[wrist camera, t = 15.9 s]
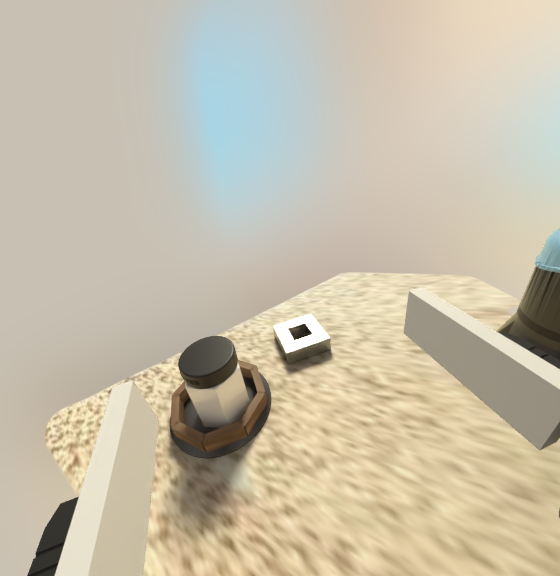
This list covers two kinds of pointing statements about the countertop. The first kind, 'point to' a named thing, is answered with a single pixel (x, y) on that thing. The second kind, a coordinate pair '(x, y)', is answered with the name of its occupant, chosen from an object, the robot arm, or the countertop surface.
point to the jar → (214, 381)
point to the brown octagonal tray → (225, 439)
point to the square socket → (304, 346)
